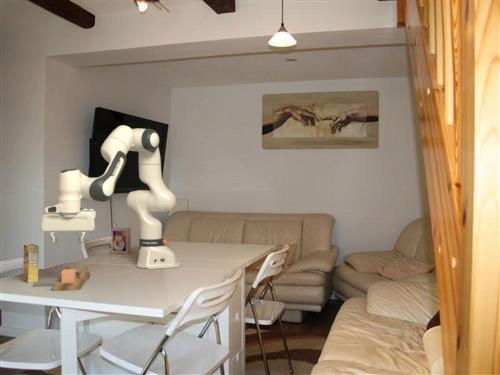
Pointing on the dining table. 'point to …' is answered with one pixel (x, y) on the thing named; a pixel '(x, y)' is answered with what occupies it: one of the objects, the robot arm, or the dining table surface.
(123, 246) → the greeting card
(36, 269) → the candy box
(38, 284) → the trivet
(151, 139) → the robot arm
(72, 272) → the block
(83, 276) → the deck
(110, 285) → the dining table surface
